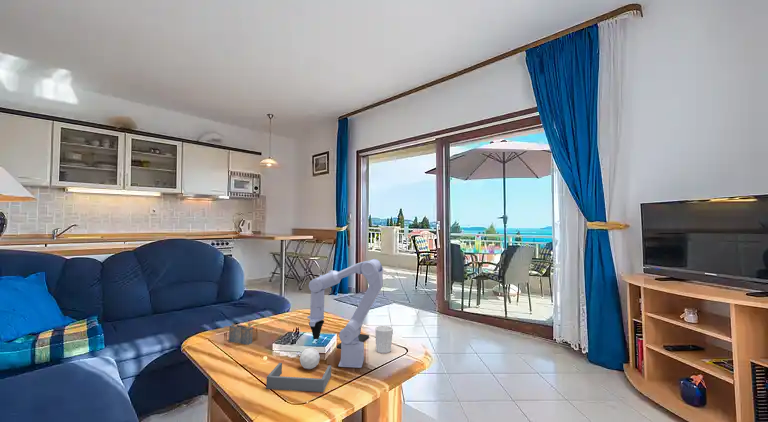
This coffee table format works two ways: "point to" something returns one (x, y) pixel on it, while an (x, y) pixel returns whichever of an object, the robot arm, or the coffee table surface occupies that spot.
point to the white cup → (383, 339)
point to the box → (296, 381)
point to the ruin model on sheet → (241, 334)
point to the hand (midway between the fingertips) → (316, 338)
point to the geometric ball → (309, 358)
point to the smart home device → (361, 339)
